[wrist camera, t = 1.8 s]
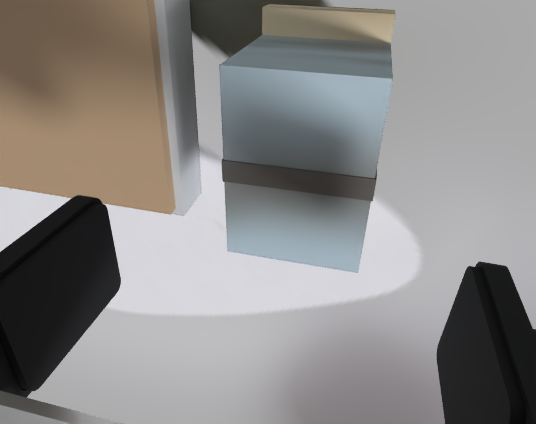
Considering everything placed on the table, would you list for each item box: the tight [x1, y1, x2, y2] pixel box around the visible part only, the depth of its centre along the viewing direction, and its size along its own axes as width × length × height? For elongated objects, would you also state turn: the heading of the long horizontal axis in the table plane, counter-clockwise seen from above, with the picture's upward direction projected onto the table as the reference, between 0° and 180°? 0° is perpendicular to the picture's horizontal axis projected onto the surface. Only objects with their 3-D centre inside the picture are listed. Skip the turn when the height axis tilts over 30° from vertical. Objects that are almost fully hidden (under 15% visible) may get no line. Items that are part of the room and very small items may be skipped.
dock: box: [0, 0, 201, 216], centre depth 19 cm, size 12×12×3 cm
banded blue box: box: [220, 4, 395, 273], centre depth 16 cm, size 9×5×6 cm, turn 179°
